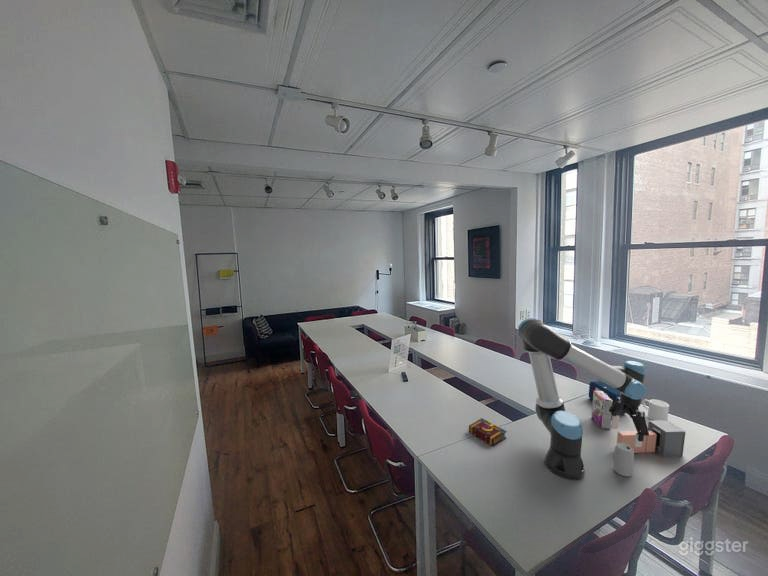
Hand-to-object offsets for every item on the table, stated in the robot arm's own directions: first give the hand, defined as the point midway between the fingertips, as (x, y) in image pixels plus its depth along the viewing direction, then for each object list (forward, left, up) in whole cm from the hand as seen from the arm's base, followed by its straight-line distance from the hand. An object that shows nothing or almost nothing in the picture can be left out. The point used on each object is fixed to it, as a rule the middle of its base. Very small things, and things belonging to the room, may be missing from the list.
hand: (625, 437), depth 143 cm
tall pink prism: (+5, 0, -7) cm, 9 cm away
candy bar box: (+6, +23, -8) cm, 25 cm away
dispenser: (+19, 0, -7) cm, 20 cm away
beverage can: (-11, -13, -8) cm, 19 cm away
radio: (+22, +40, -8) cm, 46 cm away
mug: (+39, +27, -8) cm, 48 cm away
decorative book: (-61, +15, -8) cm, 63 cm away
